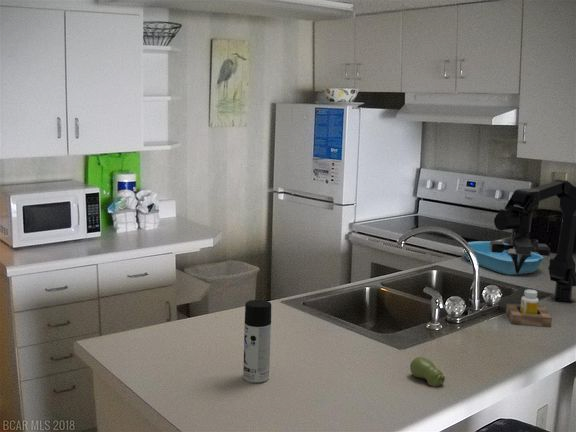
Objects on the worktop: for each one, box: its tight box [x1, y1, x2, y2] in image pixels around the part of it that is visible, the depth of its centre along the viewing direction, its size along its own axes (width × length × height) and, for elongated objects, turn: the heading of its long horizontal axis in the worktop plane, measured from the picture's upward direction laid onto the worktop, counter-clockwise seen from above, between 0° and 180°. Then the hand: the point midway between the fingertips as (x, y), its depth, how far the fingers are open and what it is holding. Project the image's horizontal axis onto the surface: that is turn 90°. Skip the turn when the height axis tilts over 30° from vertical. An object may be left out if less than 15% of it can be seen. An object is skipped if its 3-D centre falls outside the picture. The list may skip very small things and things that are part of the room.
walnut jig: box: [505, 302, 553, 328], centre depth 227 cm, size 12×12×3 cm
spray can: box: [242, 299, 272, 384], centre depth 175 cm, size 7×7×20 cm
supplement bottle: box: [520, 289, 539, 314], centre depth 226 cm, size 5×5×10 cm
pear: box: [409, 356, 446, 388], centre depth 179 cm, size 6×5×10 cm
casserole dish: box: [462, 240, 544, 276], centre depth 292 cm, size 37×22×7 cm, turn 24°
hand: (516, 272), depth 234 cm, fingers closed
